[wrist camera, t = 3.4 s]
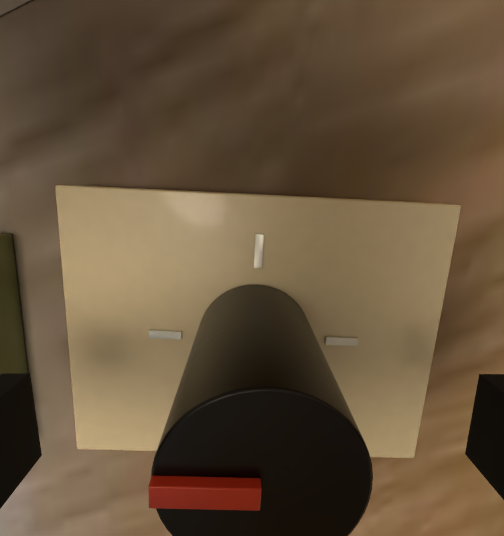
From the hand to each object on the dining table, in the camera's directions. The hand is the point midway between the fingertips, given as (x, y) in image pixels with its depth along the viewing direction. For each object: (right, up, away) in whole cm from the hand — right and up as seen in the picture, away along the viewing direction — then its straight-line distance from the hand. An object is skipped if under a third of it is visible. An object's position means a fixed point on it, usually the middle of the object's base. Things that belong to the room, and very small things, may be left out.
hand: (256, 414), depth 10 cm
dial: (0, +1, +5) cm, 5 cm away
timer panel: (0, +2, +7) cm, 7 cm away
